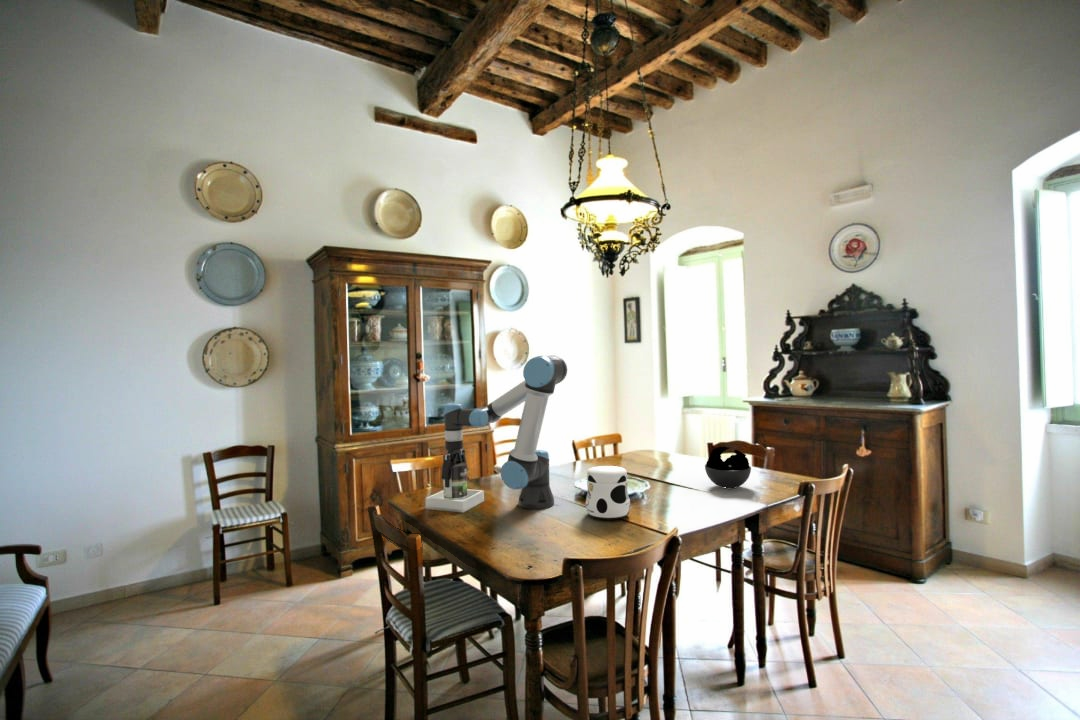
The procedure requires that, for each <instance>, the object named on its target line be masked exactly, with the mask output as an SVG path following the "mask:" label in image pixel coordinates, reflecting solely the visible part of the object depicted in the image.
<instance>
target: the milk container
mask: <svg viewBox="0 0 1080 720" xmlns="http://www.w3.org/2000/svg"><path fill="white" fill-rule="evenodd" d="M586 473H587V474H586V479H587V481H586V484H587V491H586V492H587V493H586V498H585V509H586V512H587V514H588V515H589V516H590V517H592V518H595V519H600V520H619V519H621V518H625V517H626V516H628V515H629V513H630V510H631V499H630V497H629V492H628V473H627V469H625V468H624V467H621V466H615V465H599V466H593V467H590V468H588V469H587V472H586Z"/></svg>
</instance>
